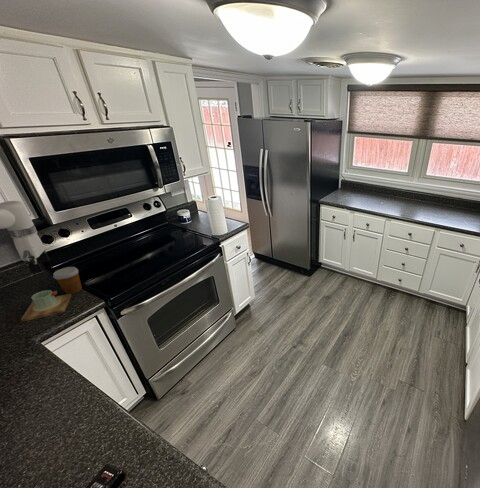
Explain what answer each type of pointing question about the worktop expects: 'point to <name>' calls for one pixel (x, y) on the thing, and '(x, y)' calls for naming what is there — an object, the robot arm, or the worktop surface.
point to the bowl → (45, 301)
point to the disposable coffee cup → (68, 279)
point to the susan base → (58, 309)
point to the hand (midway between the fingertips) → (41, 266)
